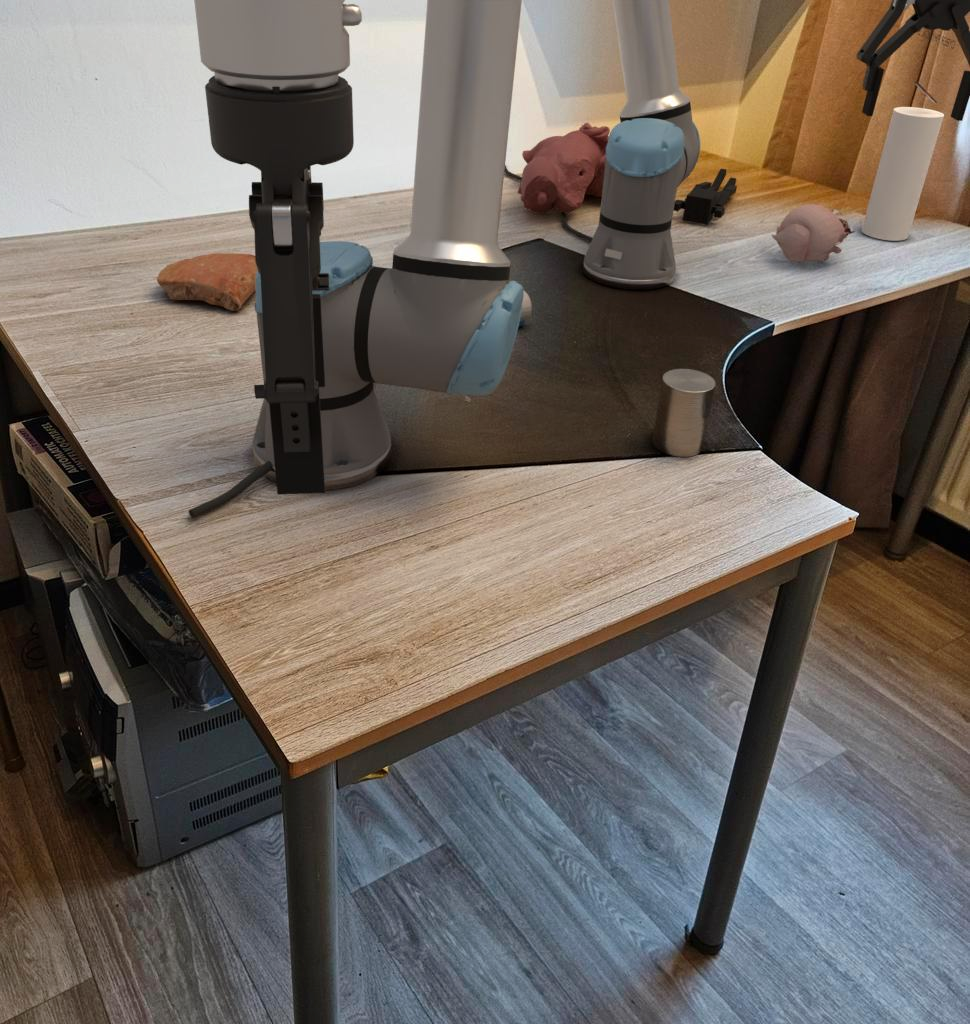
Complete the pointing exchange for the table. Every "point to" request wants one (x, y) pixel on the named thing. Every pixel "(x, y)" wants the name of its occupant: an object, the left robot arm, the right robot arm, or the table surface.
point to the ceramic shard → (211, 279)
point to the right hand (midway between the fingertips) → (911, 116)
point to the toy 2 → (811, 233)
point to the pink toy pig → (564, 170)
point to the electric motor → (525, 309)
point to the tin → (683, 412)
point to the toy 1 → (707, 200)
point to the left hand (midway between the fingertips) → (303, 433)
